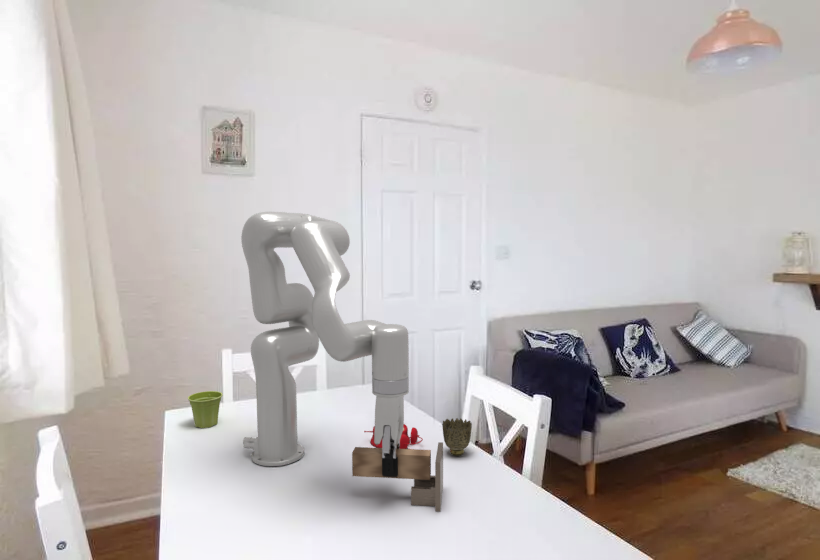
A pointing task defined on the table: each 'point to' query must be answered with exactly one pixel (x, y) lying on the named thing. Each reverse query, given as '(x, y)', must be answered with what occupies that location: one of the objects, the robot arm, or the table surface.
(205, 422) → the plant pot
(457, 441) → the cup
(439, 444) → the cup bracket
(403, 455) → the walnut rail
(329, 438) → the table surface
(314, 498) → the table surface
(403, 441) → the alarm clock
